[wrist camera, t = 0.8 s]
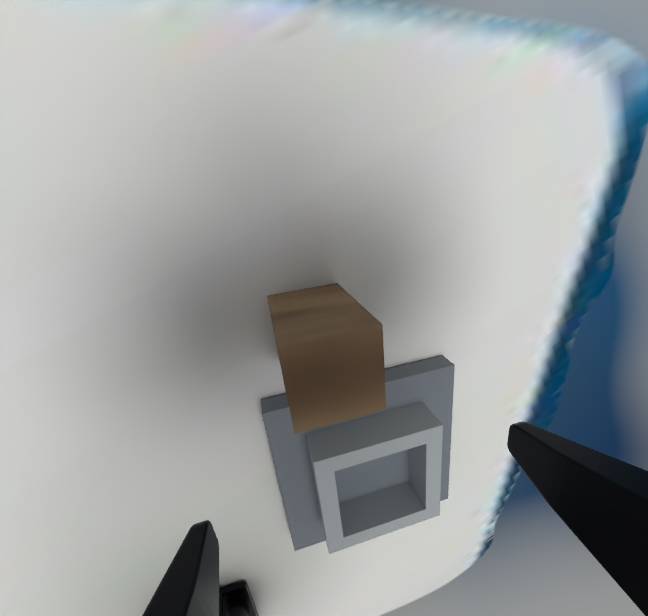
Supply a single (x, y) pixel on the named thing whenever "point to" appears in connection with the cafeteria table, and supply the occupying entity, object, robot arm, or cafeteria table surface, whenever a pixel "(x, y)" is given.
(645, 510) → the robot arm
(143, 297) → the cafeteria table surface
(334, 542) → the socket block
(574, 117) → the cafeteria table surface
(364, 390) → the walnut peg
